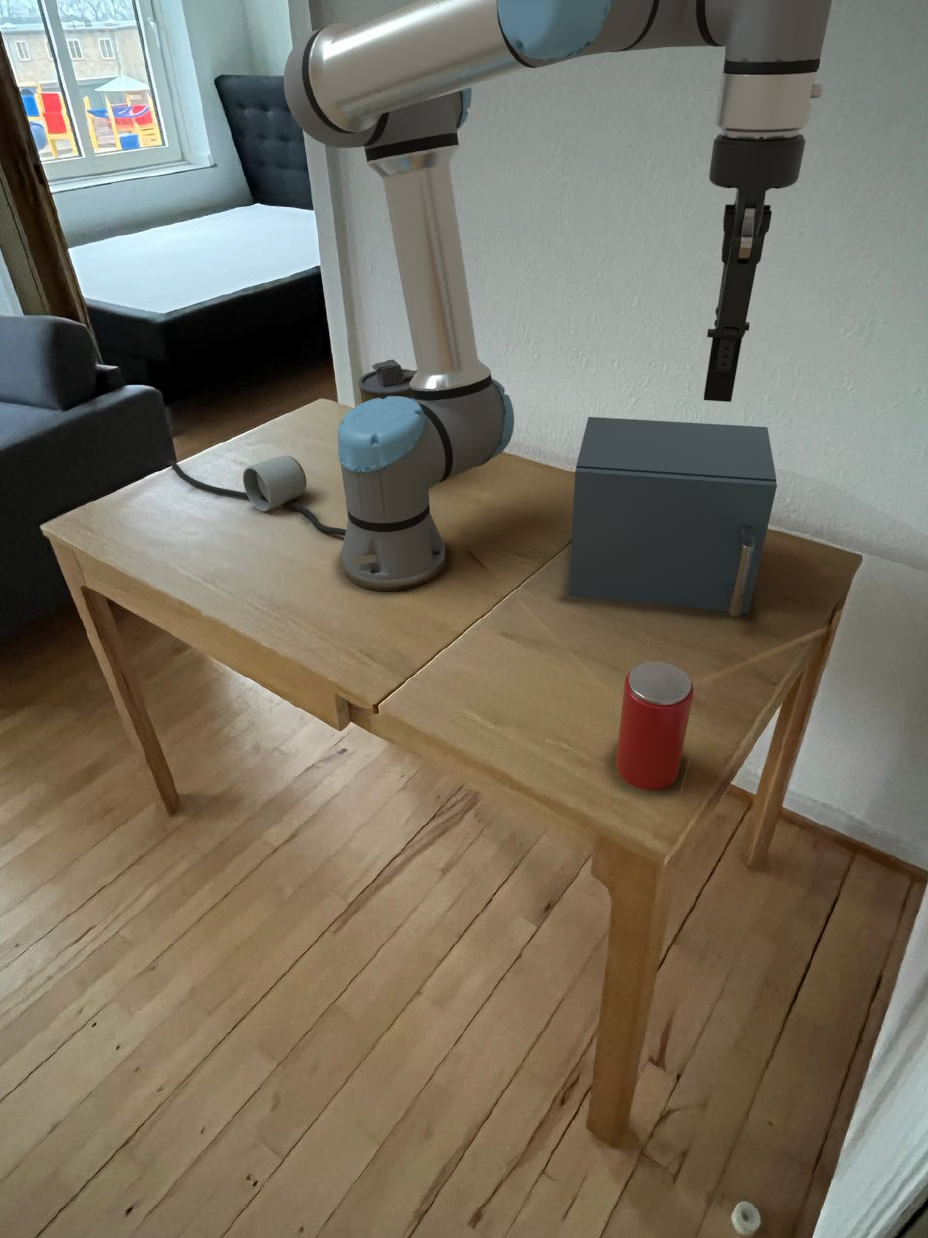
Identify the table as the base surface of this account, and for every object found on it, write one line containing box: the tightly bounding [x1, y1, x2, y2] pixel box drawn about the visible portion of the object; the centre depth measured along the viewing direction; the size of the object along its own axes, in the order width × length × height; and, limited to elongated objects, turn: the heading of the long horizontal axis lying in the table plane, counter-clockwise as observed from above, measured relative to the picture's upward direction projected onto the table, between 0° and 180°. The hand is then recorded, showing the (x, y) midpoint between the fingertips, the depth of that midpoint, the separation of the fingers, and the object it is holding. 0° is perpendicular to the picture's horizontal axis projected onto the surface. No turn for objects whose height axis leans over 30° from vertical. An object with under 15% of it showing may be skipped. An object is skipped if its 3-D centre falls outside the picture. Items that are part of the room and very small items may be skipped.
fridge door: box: [567, 467, 778, 617], centre depth 101 cm, size 6×24×19 cm, turn 78°
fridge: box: [575, 416, 777, 483], centre depth 110 cm, size 15×24×20 cm, turn 77°
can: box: [615, 660, 695, 791], centre depth 83 cm, size 7×7×12 cm
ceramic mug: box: [242, 455, 307, 512], centre depth 135 cm, size 11×8×8 cm
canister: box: [357, 358, 417, 404], centre depth 136 cm, size 11×10×20 cm
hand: (717, 397), depth 83 cm, fingers closed
